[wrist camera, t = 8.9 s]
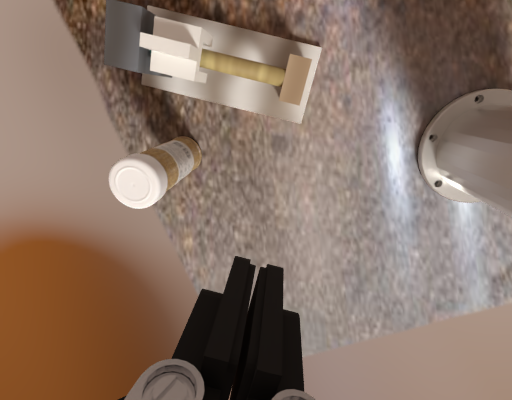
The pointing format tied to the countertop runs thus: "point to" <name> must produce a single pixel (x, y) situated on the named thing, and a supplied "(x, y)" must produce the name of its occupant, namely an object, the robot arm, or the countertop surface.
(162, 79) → the linear actuator
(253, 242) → the countertop surface
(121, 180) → the sprinkles bottle
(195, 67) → the sleeve
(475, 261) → the countertop surface
